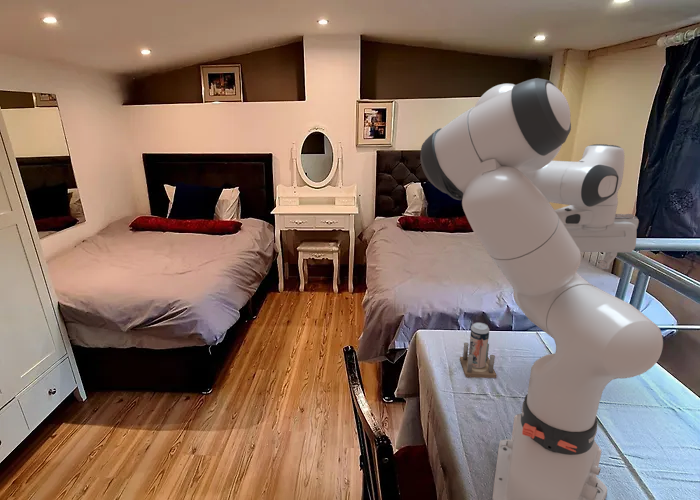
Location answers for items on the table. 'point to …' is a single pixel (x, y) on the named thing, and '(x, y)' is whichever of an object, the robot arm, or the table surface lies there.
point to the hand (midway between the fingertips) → (583, 267)
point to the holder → (477, 372)
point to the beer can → (479, 344)
